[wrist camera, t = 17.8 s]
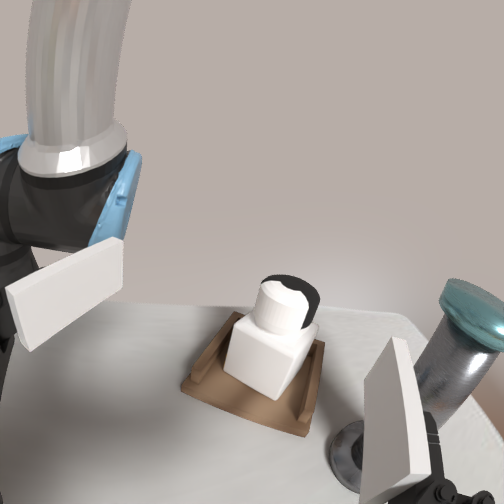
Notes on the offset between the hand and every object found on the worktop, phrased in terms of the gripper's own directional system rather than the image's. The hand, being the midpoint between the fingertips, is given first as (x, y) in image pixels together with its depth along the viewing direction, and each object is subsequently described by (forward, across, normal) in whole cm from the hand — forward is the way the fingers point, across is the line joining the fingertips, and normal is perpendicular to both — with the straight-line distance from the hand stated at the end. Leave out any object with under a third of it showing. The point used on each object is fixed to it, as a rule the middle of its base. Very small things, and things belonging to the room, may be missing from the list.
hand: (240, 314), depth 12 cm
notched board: (+14, +2, -18) cm, 23 cm away
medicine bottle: (+14, +2, -17) cm, 22 cm away
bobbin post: (+6, +16, -18) cm, 25 cm away
